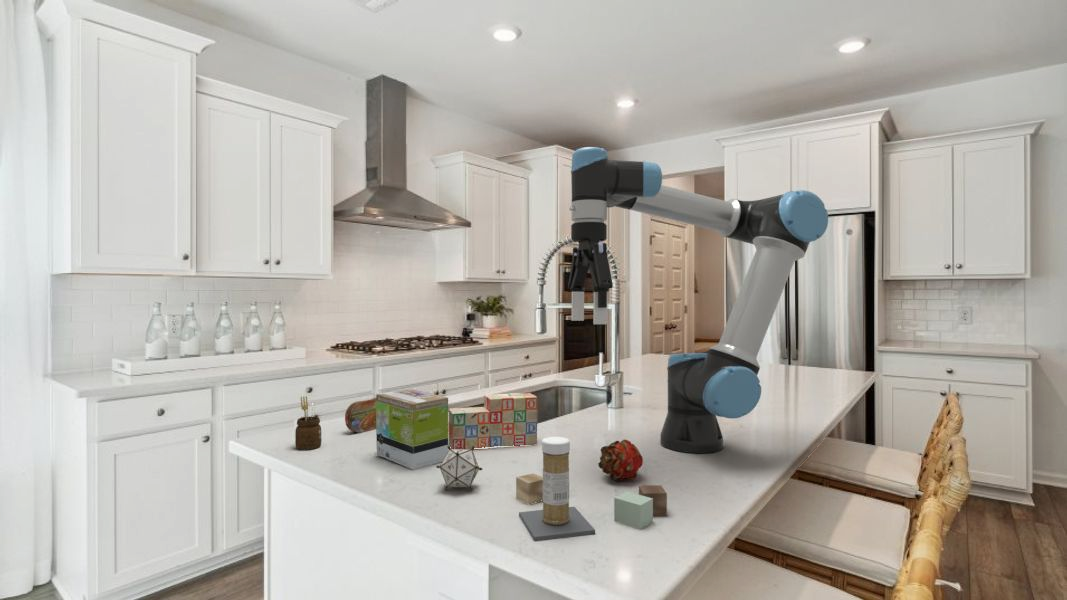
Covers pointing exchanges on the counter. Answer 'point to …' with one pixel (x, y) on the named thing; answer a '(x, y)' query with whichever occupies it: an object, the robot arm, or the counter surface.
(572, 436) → the counter surface
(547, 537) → the slate mat
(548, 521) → the sprinkles bottle
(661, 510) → the walnut block
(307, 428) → the utensil holder
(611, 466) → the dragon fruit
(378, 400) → the tea box
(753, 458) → the counter surface
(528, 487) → the oak block
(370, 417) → the tin
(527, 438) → the stack of blocks
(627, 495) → the sage painted block
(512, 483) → the counter surface
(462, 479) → the game die
